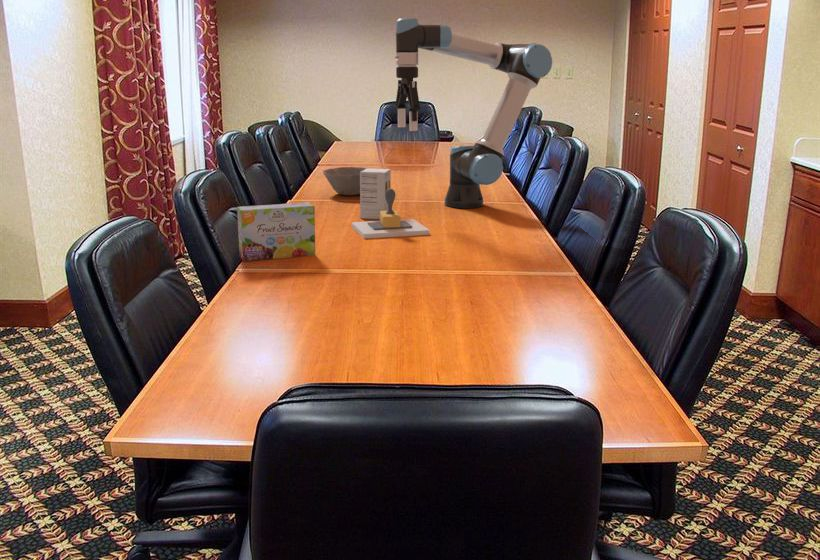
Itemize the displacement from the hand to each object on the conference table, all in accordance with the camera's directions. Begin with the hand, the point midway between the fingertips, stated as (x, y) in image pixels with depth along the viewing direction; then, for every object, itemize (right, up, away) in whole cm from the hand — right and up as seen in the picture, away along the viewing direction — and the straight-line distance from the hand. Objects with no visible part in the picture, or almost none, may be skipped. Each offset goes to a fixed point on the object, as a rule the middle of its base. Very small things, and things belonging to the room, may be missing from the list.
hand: (407, 129), depth 263 cm
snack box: (-37, -46, -46) cm, 75 cm away
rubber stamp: (-6, -35, -13) cm, 38 cm away
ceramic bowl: (-24, -17, +51) cm, 59 cm away
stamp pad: (-6, -36, -13) cm, 39 cm away
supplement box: (-12, -30, +9) cm, 33 cm away
